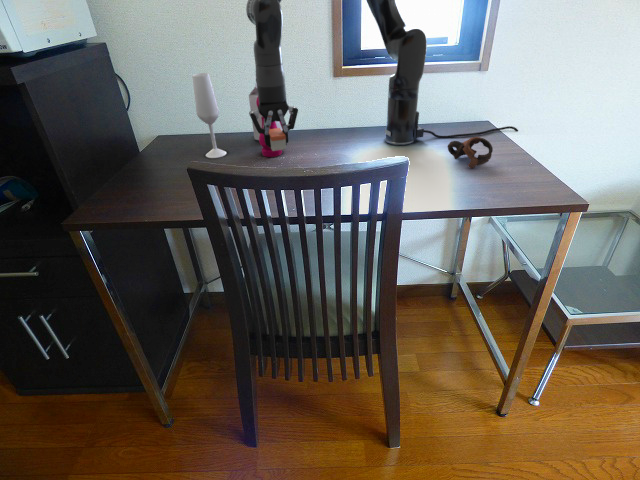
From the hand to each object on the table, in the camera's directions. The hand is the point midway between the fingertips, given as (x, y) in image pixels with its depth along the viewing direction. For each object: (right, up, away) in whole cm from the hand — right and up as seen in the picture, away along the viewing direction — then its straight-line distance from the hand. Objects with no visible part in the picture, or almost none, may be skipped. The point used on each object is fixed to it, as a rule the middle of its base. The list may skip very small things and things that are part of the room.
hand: (277, 145), depth 111 cm
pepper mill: (-3, 0, +11) cm, 12 cm away
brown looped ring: (+55, -5, 0) cm, 55 cm away
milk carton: (-6, +8, +24) cm, 26 cm away
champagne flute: (-21, 0, +13) cm, 25 cm away
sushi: (0, 0, 0) cm, 0 cm away
